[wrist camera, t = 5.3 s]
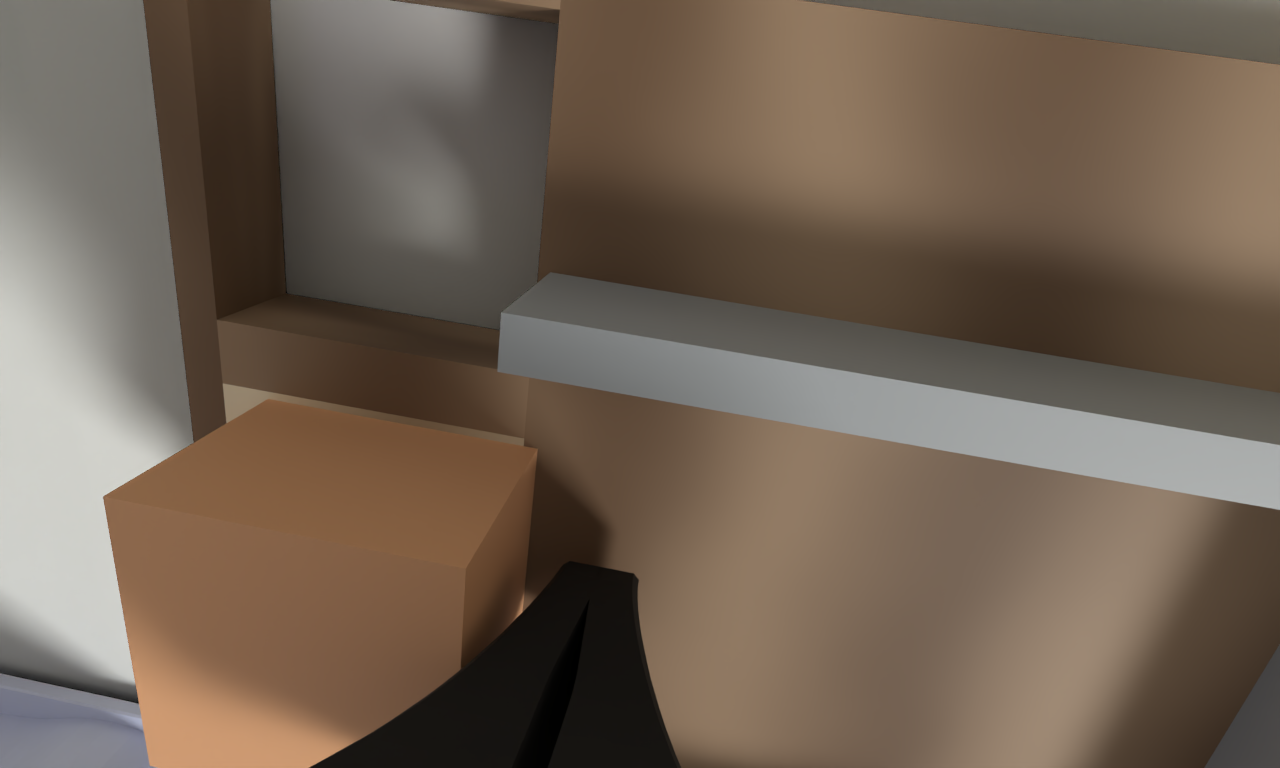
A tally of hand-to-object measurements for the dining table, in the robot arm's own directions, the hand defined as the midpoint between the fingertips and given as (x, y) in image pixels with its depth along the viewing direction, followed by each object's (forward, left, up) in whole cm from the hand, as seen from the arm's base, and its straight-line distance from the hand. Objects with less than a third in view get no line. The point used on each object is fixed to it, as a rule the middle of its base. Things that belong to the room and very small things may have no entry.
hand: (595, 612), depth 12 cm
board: (+3, 0, -3) cm, 4 cm away
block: (-4, 0, -1) cm, 4 cm away
